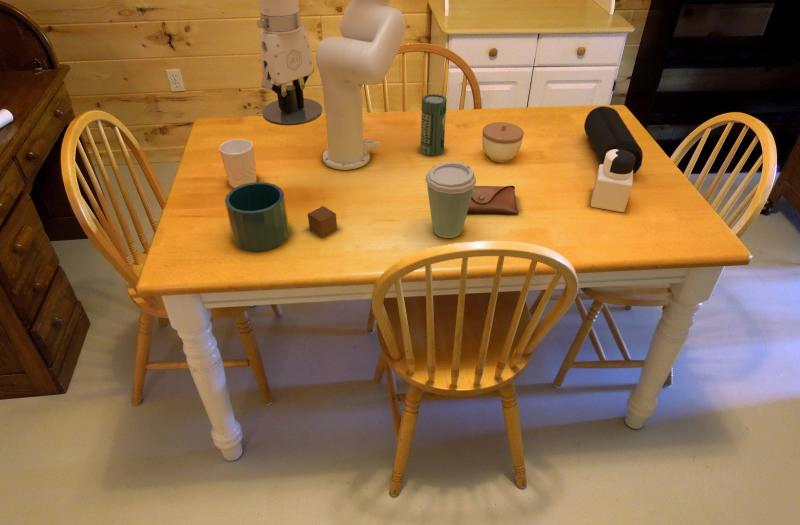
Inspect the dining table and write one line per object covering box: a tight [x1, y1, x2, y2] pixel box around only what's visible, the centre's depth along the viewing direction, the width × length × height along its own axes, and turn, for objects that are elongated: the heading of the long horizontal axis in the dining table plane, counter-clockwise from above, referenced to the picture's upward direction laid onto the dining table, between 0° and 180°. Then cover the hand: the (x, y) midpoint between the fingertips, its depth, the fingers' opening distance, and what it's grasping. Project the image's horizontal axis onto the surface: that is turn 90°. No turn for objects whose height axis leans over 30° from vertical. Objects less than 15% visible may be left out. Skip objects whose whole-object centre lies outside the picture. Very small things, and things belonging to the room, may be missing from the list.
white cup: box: [218, 138, 258, 189], centre depth 138 cm, size 8×8×10 cm
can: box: [419, 93, 448, 157], centre depth 150 cm, size 6×6×15 cm
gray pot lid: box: [261, 84, 323, 127], centre depth 121 cm, size 13×13×6 cm
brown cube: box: [307, 205, 338, 239], centre depth 124 cm, size 4×4×4 cm
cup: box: [224, 181, 290, 253], centre depth 121 cm, size 12×12×10 cm
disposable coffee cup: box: [425, 161, 477, 239], centre depth 121 cm, size 11×11×15 cm
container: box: [590, 149, 636, 213], centre depth 132 cm, size 8×8×13 cm
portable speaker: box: [583, 105, 644, 175], centre depth 150 cm, size 26×10×10 cm, turn 178°
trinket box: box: [481, 121, 525, 163], centre depth 150 cm, size 11×11×9 cm
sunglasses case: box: [467, 185, 520, 215], centre depth 133 cm, size 18×7×7 cm
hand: (292, 108), depth 122 cm, fingers closed on gray pot lid, 2 cm apart
